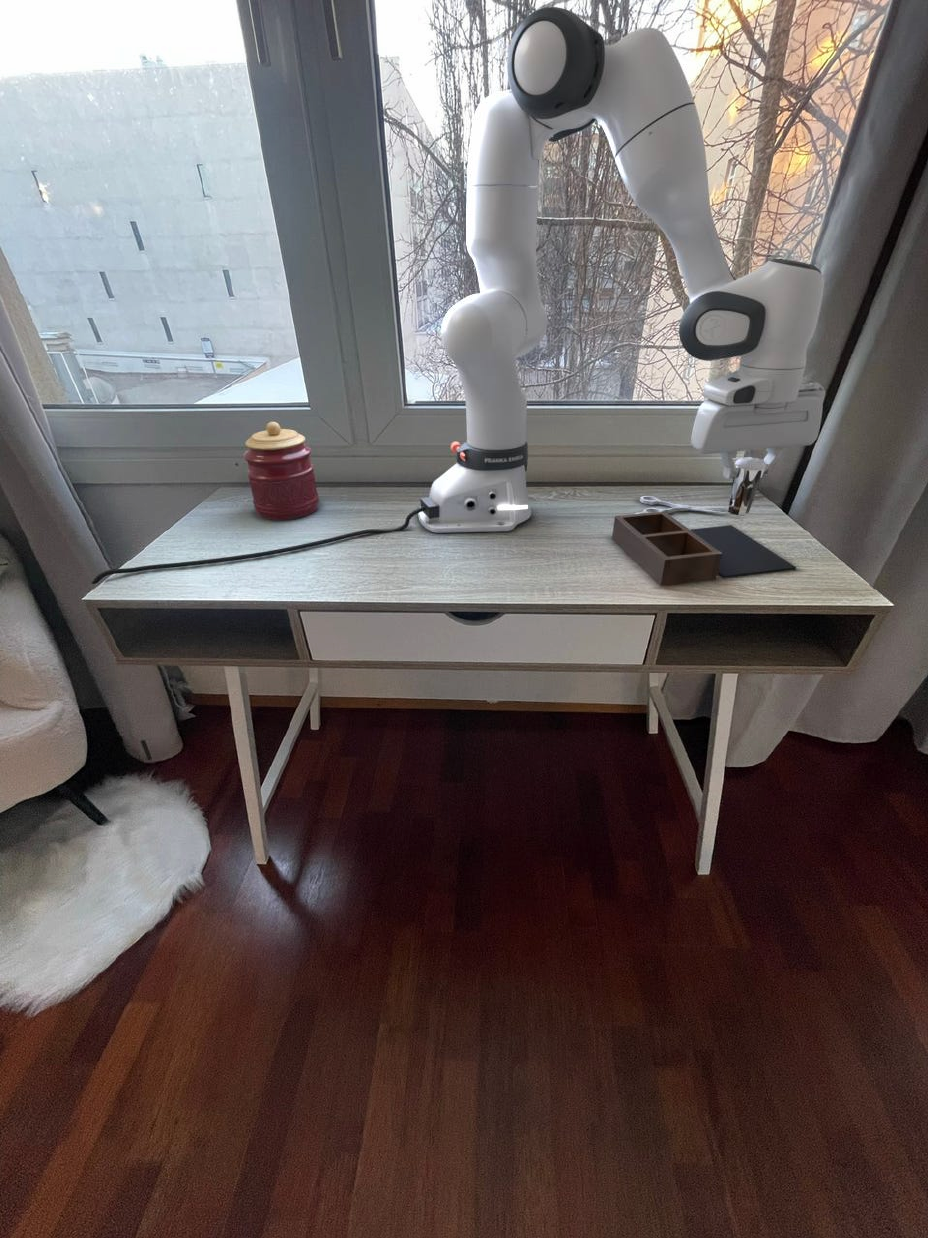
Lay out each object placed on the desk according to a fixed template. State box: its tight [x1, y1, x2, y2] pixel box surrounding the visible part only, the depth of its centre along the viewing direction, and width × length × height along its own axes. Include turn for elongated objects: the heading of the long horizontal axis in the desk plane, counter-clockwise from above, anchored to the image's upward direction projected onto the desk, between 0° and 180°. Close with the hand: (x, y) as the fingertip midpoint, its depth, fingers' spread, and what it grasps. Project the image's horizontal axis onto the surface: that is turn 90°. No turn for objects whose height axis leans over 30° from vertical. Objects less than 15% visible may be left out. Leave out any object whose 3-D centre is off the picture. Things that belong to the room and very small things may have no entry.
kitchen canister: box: [242, 421, 320, 521], centre depth 118 cm, size 13×13×18 cm
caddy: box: [611, 511, 722, 587], centre depth 99 cm, size 10×18×4 cm, turn 12°
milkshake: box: [727, 450, 766, 516], centre depth 96 cm, size 4×5×10 cm
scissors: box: [634, 495, 732, 515], centre depth 117 cm, size 11×1×20 cm
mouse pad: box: [690, 524, 797, 579], centre depth 102 cm, size 13×18×1 cm
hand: (745, 475), depth 96 cm, fingers closed on milkshake, 4 cm apart
